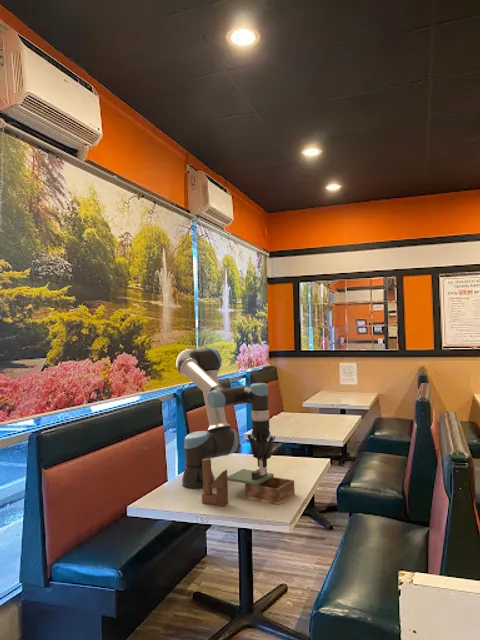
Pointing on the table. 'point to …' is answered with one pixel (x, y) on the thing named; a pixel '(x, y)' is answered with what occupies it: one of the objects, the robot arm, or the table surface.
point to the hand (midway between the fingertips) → (262, 474)
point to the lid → (249, 477)
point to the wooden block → (214, 486)
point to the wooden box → (271, 490)
